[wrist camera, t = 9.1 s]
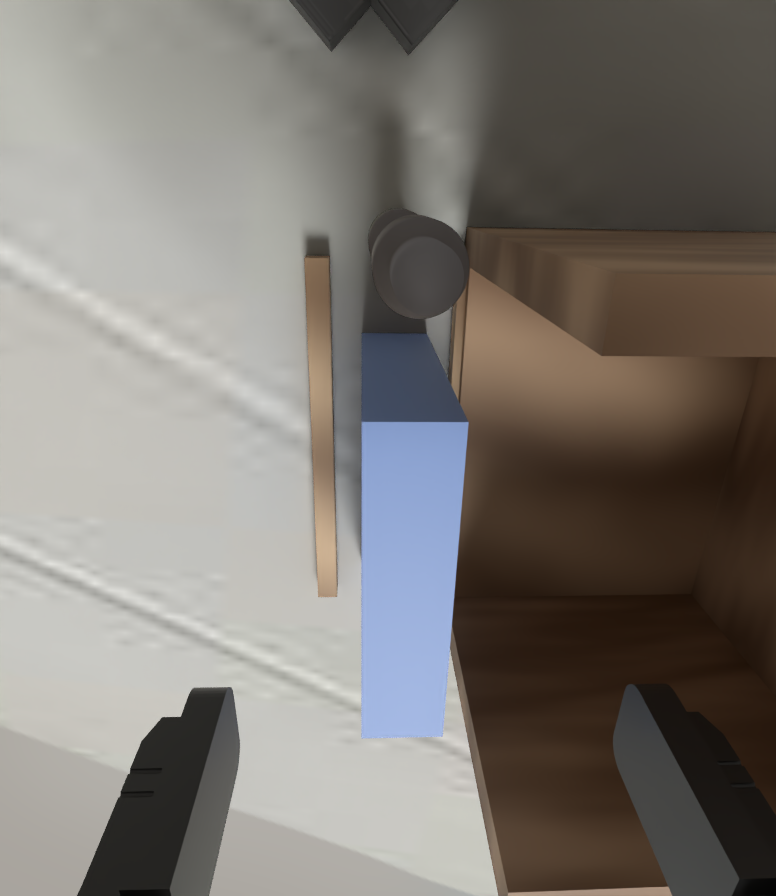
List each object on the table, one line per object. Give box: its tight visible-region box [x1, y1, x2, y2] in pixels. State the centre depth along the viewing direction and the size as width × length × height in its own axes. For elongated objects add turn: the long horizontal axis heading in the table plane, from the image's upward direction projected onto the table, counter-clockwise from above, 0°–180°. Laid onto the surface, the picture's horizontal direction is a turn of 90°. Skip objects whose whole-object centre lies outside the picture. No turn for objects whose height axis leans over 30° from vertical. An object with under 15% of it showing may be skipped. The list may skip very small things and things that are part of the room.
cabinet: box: [304, 208, 776, 896], centre depth 17 cm, size 17×18×14 cm
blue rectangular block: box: [362, 333, 469, 738], centre depth 19 cm, size 10×2×9 cm, turn 179°
